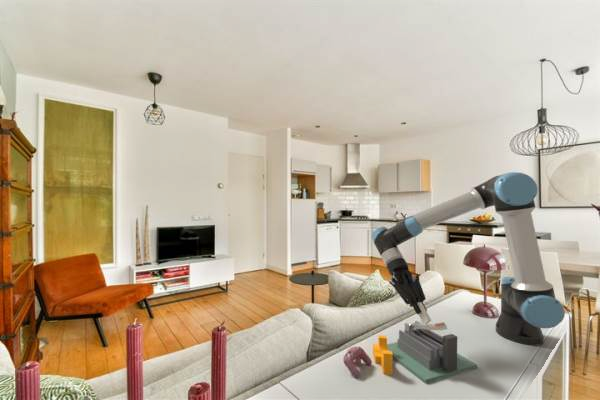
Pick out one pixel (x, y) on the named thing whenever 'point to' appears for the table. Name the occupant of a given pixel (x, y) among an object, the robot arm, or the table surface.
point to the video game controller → (355, 359)
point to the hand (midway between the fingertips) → (427, 322)
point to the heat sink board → (429, 354)
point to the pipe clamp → (383, 355)
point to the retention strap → (429, 326)
